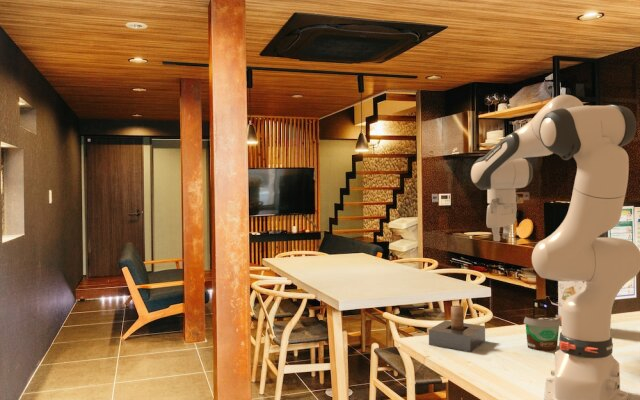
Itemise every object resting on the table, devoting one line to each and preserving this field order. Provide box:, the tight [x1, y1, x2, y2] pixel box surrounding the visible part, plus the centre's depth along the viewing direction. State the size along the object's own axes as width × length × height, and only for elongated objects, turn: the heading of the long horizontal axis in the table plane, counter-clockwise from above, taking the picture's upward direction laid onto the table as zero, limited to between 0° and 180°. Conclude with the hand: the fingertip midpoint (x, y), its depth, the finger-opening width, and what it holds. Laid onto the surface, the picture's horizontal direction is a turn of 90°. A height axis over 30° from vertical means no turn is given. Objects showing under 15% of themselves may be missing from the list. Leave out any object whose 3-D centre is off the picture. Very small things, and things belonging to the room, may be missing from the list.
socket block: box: [428, 319, 486, 353], centre depth 175 cm, size 14×14×5 cm
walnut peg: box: [450, 305, 465, 331], centre depth 175 cm, size 4×4×12 cm
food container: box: [523, 314, 562, 352], centre depth 167 cm, size 12×6×10 cm, turn 102°
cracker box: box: [557, 281, 584, 326], centre depth 189 cm, size 14×6×21 cm, turn 18°
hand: (501, 239), depth 175 cm, fingers open, 8 cm apart
